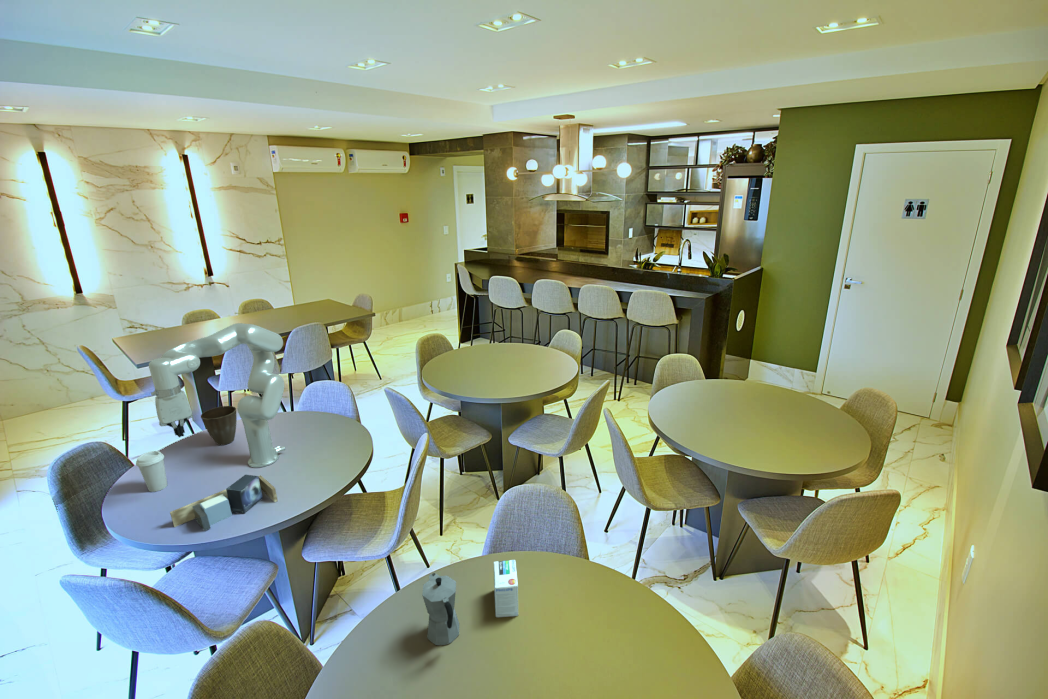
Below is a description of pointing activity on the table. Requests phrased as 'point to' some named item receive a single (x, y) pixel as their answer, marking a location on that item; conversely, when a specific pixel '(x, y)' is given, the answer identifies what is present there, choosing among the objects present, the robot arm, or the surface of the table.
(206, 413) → the plant pot
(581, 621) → the table surface
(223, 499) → the pale grey block
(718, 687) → the table surface
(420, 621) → the table surface
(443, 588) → the coffeepot
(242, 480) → the small box
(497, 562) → the light bulb box
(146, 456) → the coffee cup
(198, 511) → the bookend
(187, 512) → the curved wooden plank
